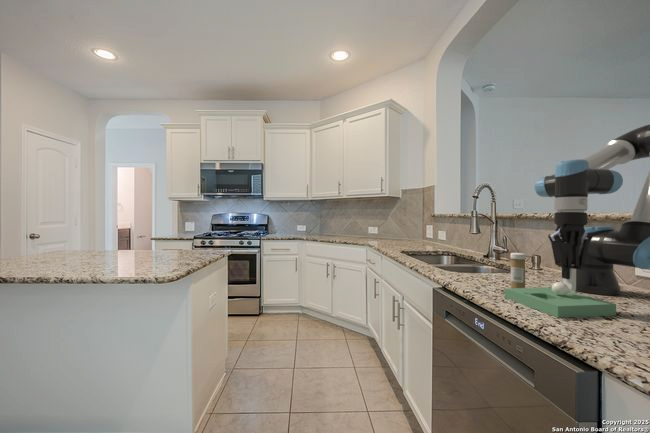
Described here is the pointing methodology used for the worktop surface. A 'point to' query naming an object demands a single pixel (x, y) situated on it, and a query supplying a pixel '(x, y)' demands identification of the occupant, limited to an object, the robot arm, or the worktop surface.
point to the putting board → (560, 302)
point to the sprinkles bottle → (517, 270)
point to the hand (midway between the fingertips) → (569, 289)
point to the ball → (560, 288)
